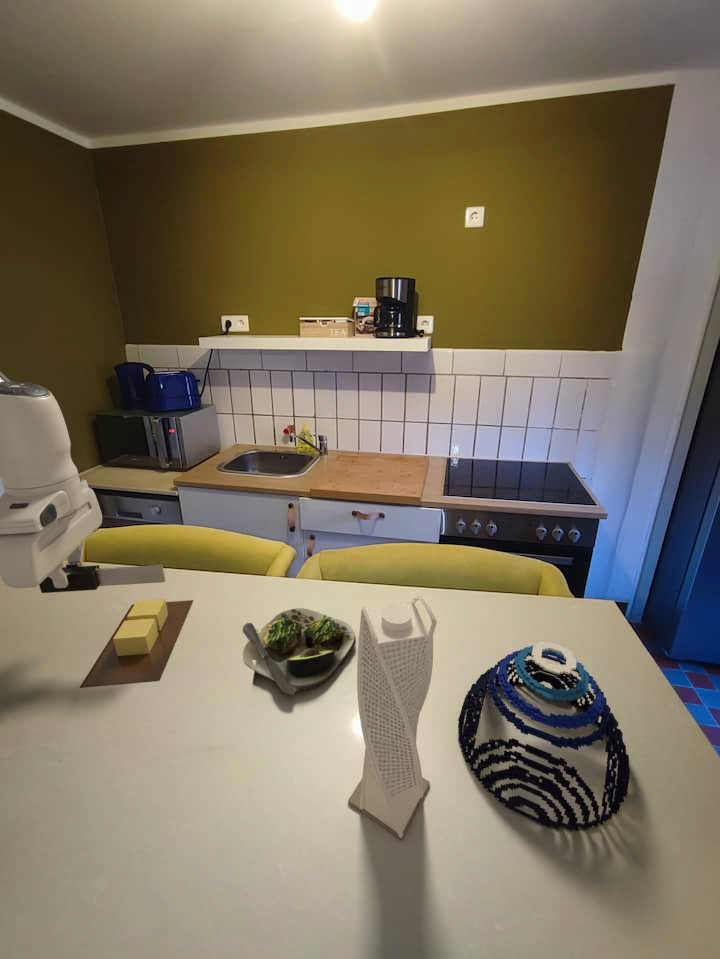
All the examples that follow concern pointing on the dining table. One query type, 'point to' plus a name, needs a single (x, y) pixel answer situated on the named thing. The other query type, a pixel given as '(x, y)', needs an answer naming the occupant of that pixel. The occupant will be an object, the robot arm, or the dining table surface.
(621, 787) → the decorative bowl
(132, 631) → the butter block
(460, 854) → the dining table surface
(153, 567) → the knife
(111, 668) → the cutting board
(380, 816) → the skyscraper
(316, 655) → the salad plate
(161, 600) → the butter slice
